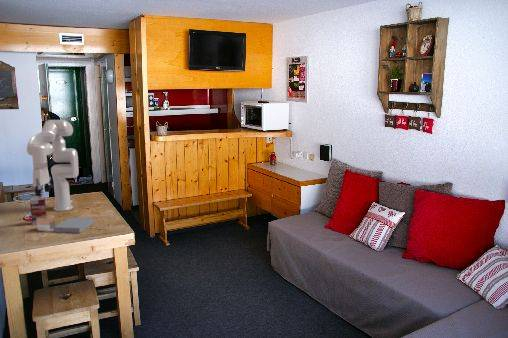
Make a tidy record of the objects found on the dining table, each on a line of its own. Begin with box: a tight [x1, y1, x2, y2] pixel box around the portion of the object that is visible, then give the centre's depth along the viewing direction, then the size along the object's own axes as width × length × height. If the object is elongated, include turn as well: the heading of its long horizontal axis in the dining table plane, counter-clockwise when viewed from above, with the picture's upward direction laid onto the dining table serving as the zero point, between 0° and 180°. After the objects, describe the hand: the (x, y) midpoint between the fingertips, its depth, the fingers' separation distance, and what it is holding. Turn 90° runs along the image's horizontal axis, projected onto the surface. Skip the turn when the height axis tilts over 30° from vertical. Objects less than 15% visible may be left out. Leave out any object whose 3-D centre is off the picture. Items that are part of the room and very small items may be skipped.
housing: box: [36, 214, 56, 232], centre depth 265 cm, size 6×8×8 cm
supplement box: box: [29, 197, 47, 226], centre depth 275 cm, size 9×5×16 cm, turn 117°
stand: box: [53, 217, 94, 234], centre depth 269 cm, size 18×16×3 cm
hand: (43, 193), depth 261 cm, fingers open, 9 cm apart
